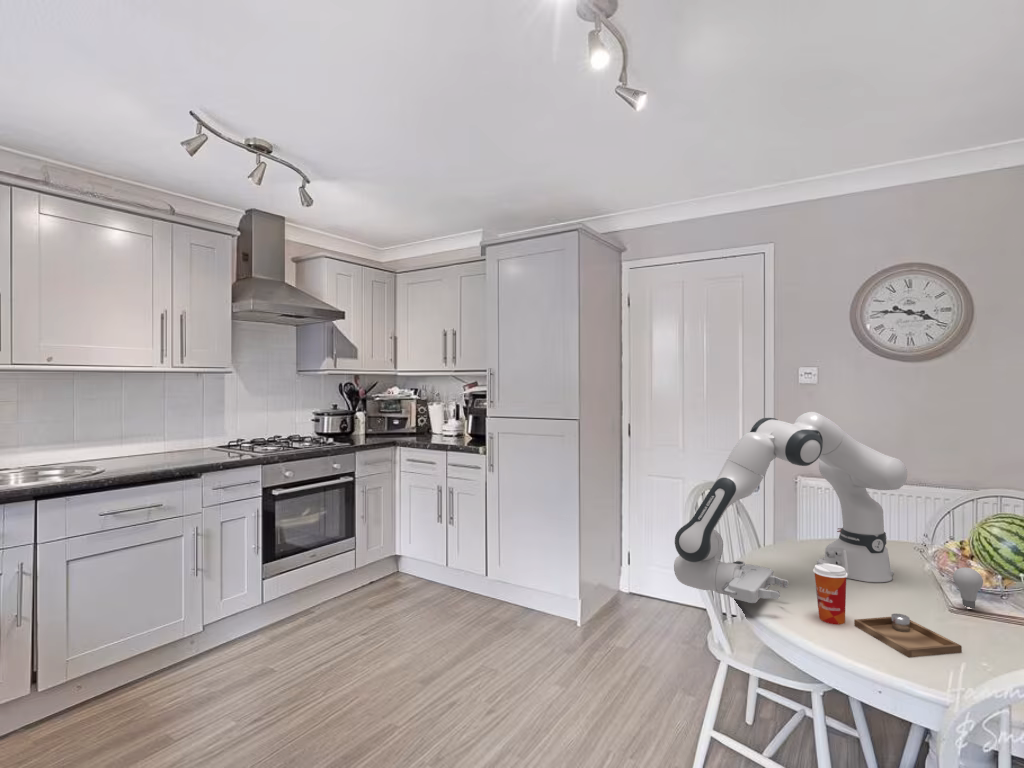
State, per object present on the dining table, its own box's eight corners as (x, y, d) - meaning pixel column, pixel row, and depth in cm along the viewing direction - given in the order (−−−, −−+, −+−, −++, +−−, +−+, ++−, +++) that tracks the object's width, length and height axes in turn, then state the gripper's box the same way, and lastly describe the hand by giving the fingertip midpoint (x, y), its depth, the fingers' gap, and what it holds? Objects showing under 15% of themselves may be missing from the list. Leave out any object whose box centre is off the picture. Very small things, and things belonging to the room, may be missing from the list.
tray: (854, 627, 133) (854, 619, 133) (902, 624, 134) (901, 615, 134) (908, 659, 117) (908, 650, 117) (961, 655, 118) (961, 645, 118)
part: (888, 626, 132) (887, 614, 132) (901, 625, 132) (901, 613, 132) (900, 632, 128) (899, 620, 129) (913, 631, 129) (913, 619, 129)
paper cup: (808, 618, 139) (805, 565, 139) (829, 613, 142) (827, 561, 142) (835, 631, 132) (833, 574, 132) (857, 625, 134) (855, 570, 135)
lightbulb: (976, 605, 144) (974, 564, 144) (989, 614, 138) (987, 572, 138) (949, 603, 145) (947, 563, 146) (961, 613, 140) (960, 571, 140)
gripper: (718, 579, 145) (773, 589, 136) (740, 559, 161) (791, 567, 152) (719, 602, 145) (774, 614, 136) (741, 580, 160) (792, 589, 152)
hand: (783, 589), depth 144 cm, fingers open, 8 cm apart
